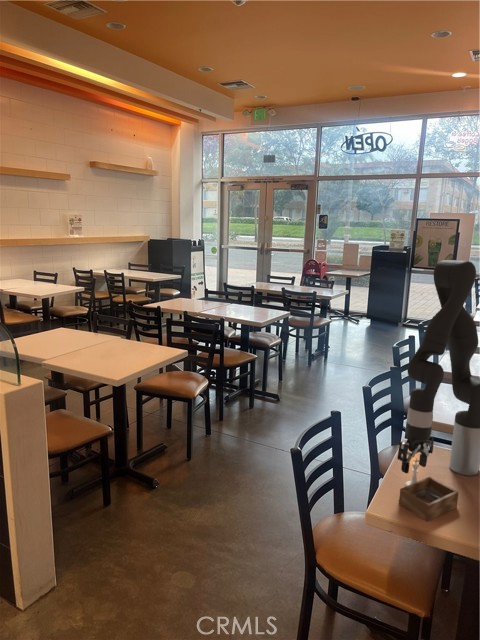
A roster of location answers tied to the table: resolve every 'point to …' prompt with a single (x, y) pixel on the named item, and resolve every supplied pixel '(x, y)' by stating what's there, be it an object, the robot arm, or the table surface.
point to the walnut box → (432, 490)
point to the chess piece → (414, 473)
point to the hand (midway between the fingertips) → (413, 469)
